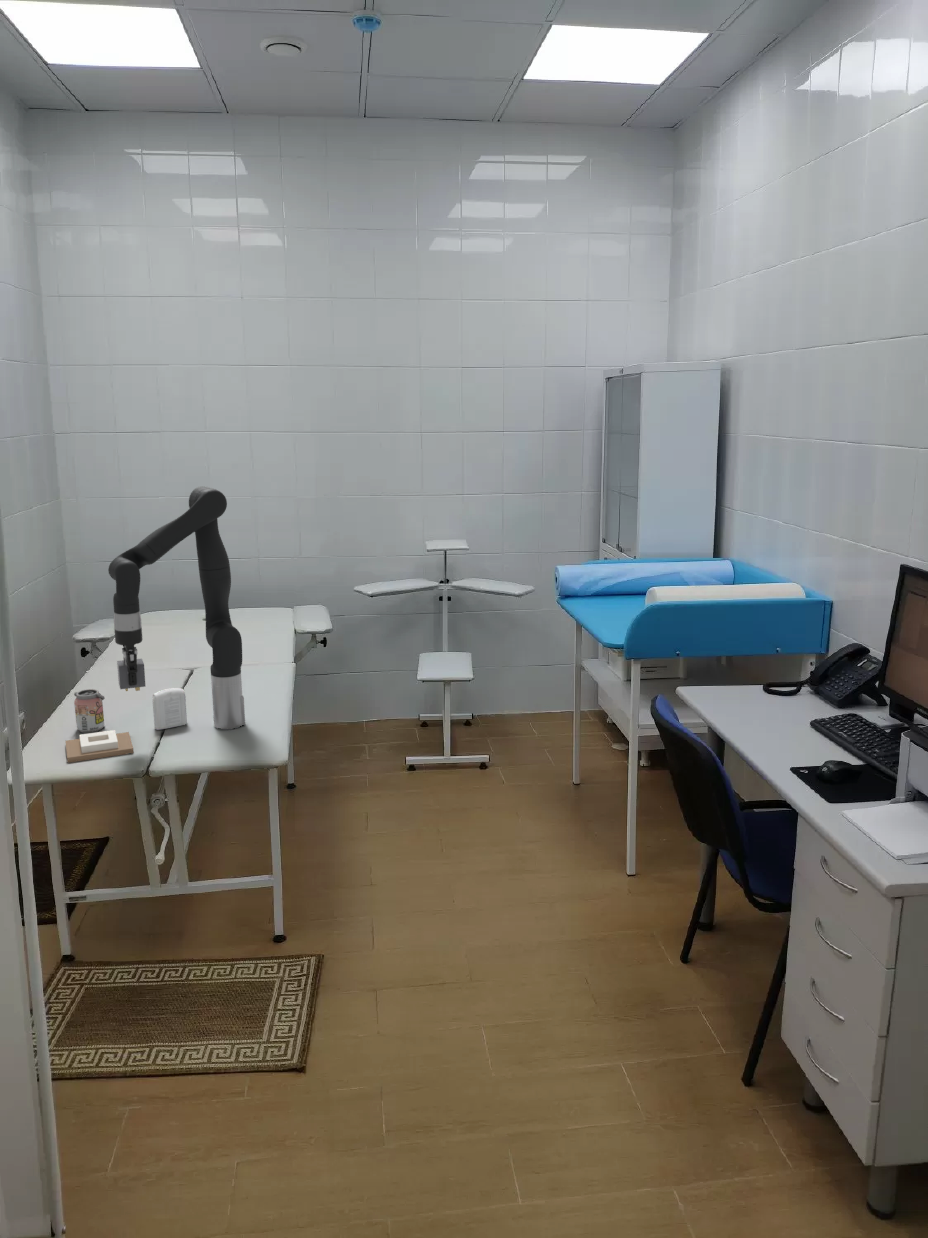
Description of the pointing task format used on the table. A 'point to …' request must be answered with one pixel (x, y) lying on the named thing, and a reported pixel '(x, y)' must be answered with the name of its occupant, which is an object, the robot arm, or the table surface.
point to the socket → (98, 746)
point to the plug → (124, 675)
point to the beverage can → (89, 710)
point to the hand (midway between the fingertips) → (131, 681)
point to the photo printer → (169, 708)
